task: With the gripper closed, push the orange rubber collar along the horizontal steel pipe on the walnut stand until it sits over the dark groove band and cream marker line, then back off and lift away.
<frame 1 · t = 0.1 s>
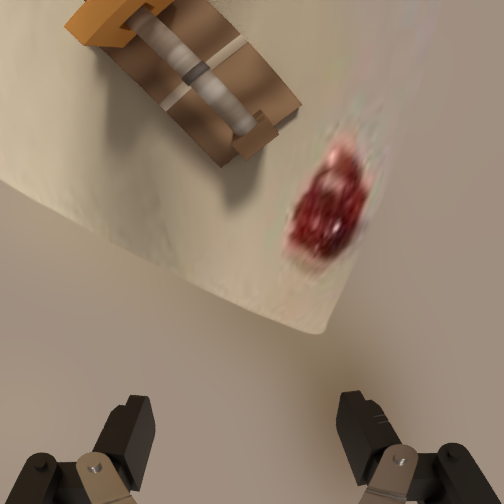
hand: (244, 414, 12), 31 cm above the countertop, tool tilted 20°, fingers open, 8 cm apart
pipe stand: (186, 54, 30), on the countertop
collar: (126, 7, 21), point 7 cm above the countertop, slide at 0.0 cm
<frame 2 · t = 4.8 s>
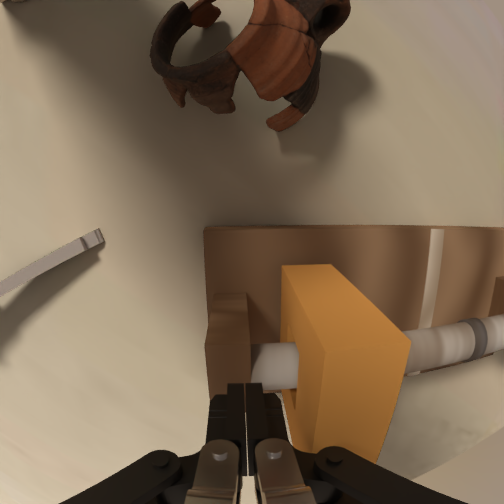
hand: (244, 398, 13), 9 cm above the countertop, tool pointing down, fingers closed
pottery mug: (257, 62, 19), on the countertop
caliper: (15, 281, 21), on the countertop
pipe stand: (385, 304, 22), on the countertop
collar: (322, 368, 15), point 8 cm above the countertop, slide at 0.1 cm, touching gripper
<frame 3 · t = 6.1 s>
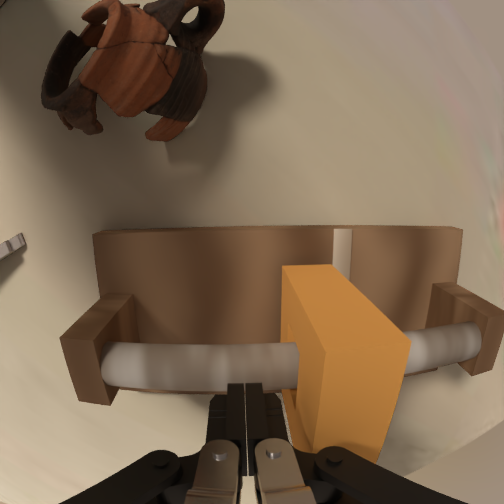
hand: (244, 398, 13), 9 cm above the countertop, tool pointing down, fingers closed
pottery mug: (151, 74, 18), on the countertop
pipe stand: (290, 311, 22), on the countertop
collar: (323, 368, 15), point 8 cm above the countertop, slide at 7.5 cm, touching gripper
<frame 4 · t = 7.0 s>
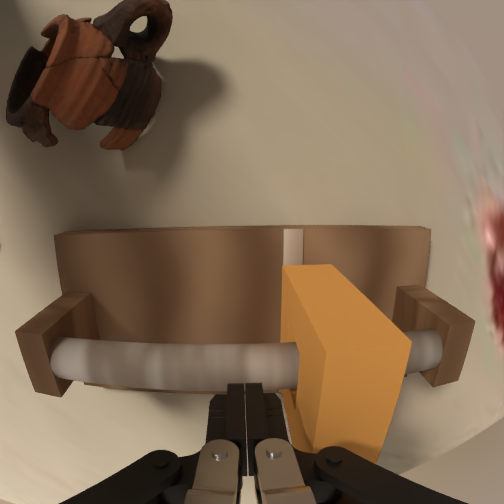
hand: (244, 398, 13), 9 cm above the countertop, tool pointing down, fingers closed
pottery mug: (110, 83, 18), on the countertop
pipe stand: (244, 312, 22), on the countertop
collar: (323, 368, 15), point 7 cm above the countertop, slide at 10.7 cm, touching gripper
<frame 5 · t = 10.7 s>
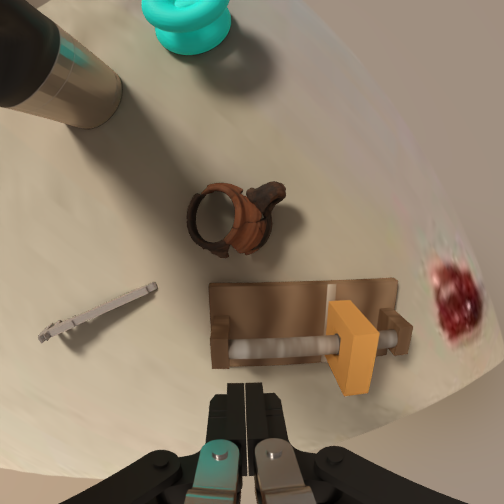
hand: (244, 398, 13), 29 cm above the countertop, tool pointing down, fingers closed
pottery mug: (240, 212, 41), on the countertop
caliper: (99, 306, 43), on the countertop
pipe stand: (305, 321, 44), on the countertop
collar: (348, 345, 37), point 7 cm above the countertop, slide at 10.9 cm
donuts: (194, 28, 35), on the countertop
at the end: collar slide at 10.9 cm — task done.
